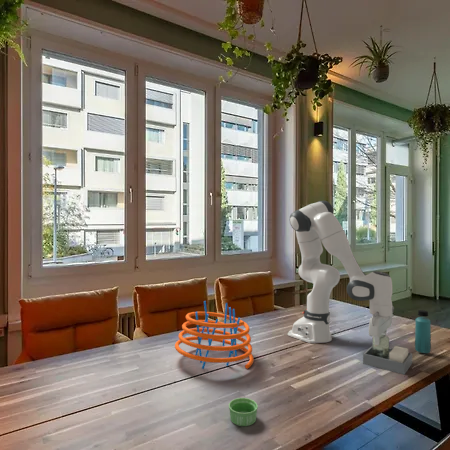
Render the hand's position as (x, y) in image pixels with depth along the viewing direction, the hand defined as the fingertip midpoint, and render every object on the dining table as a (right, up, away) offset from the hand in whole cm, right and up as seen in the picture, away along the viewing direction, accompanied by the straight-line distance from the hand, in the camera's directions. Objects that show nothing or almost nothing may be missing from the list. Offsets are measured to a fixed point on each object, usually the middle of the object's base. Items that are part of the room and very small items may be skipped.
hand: (380, 341), depth 149 cm
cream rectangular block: (+6, -9, -4) cm, 11 cm away
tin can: (0, -6, 0) cm, 6 cm away
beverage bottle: (+25, -10, +12) cm, 29 cm away
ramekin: (-61, -10, -41) cm, 74 cm away
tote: (+3, -10, -1) cm, 10 cm away
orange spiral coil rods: (-71, -9, +4) cm, 72 cm away
